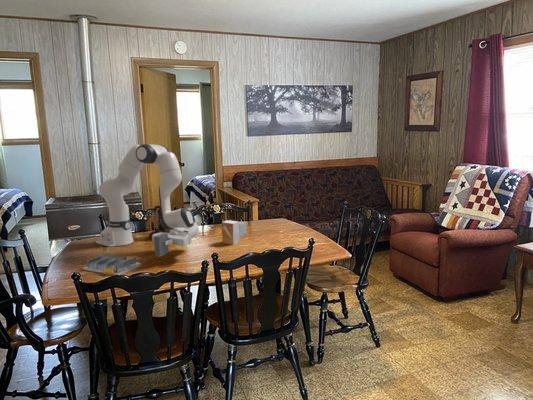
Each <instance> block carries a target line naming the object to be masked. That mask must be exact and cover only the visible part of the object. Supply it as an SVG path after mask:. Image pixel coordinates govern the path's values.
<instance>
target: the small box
mask: <svg viewBox="0 0 533 400" xmlns="http://www.w3.org/2000/svg"><path fill="white" fill-rule="evenodd" d="M239 222H240V221H237V220H229V219H227V220H224V221H222V222H221V228H222V229H221V230H222V231H221V232H222V233H221V235H222V236H221V241H222V244H227V245H230V246H231V245H232V246H234V245H236V244H238V243H240V237H239Z"/></svg>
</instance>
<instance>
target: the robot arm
mask: <svg viewBox="0 0 533 400" xmlns="http://www.w3.org/2000/svg"><path fill="white" fill-rule="evenodd" d="M145 164H147V165H148V164H149V165H157V166H158V168H159V172H160V185H159V186H158V198H159V206H160V210H161V218H160V219H159V220H160V221H161V225H162V226H163V227H164V228H165V229H166V230H170V232H169V233H166V234H168V241H164V242H163V243H164V245H168V246H169V245H175V246H181V247H182V246H183V247H184V246H187V245H191V244H192V239H194V238H195V237H196V236H197V235H198V234H199V231H200V229H199V225H198V224H197V223H196V222H195V219H194V215H193V213H192V212H191V210H190V209H188V208H187V207H182V208H178V209H175V210H172V209H171V198H170V197H171V194H172V193H173V192H174V190H175V189H176V188H177V187H179V186H180V184H181V183H182V181H183V175H182V171H181V167H180V164H179V161H178V158H177V156H176V155H175V153H174V152H171V151H170V149H169V147H166V146H164V145H162V144H160V145H159V144H155V143H154V144H151V143H149V144H148V143H144V144H135V145H133V146H132V147H131V148H130V149H129V150H128V152H127V153H126V154H125V156H124V158H123V159H122V161H121V163H120V164H119V166H118V168H117V169H118V175H117V176H116V177H114V178H113V179H108V180H105V181H103V182H102V183H100V184H99V187H98V193H99V195H100V197H102V198H103V199H104V200H105V202H106V204H107V207H108V214H109V220H107V221H106V224H107V226H106V227H105V228H104V229H103V230H102V231H101V232H100V233H99V239H97V240H96V241H95V243H96V244H99V245H102V246H105V247H110V248H111V247H112V248H113V247H118V246H120V247H121V246H126V245H131V244H132V243H134V241H135V240H134V237H133V233H132V229H131V228H132V227H131V223H132V222H131V219H130V211H129V210H130V209H129V206H128V205H127V203H126V202H125V200H124V196H127V195H129V194H131V193H133V191H134V190H135V186H136V185H135V180H136V178H137V176H138V175H139V173H140V171H142V168H143V166H144V165H145ZM162 233H164V232H160V233H156V234H153V235H152V238H151V241H152V242H153V243H154V236H157V235H160V234H162Z"/></svg>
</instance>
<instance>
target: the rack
mask: <svg viewBox="0 0 533 400" xmlns="http://www.w3.org/2000/svg"><path fill="white" fill-rule="evenodd" d="M118 256H119V255H118V253H115V254H113V255H110V254H109V252H106V253H104V254H103V253H102V254H100V255H98V256H96V257H92V258H90V259H87V260H86V264H87V265H85V266H84V267H83V266H82V270H83V271H86V272H94V273H97V274H98V273H99V274H104V275H107V276H112V275H113V276H115V275H119V276H121V275H123V274H125V273H127V272H130V271H131V270H134V269H136V268H138V267H141V266H142V263H141V262H139V261H137V257H136V256H134V257H131V258H128V256H127V255H122V256H121V257H118Z"/></svg>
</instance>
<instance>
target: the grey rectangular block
mask: <svg viewBox="0 0 533 400" xmlns="http://www.w3.org/2000/svg"><path fill="white" fill-rule="evenodd" d="M164 241H168V234H166V233H162V234H160V235H157V236H154V242H153V243H154V256H155V257H162V256H165V255H167V254H169V251H170V250H169V249H170V248H169V244H168V245H164V243H163V242H164Z"/></svg>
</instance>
